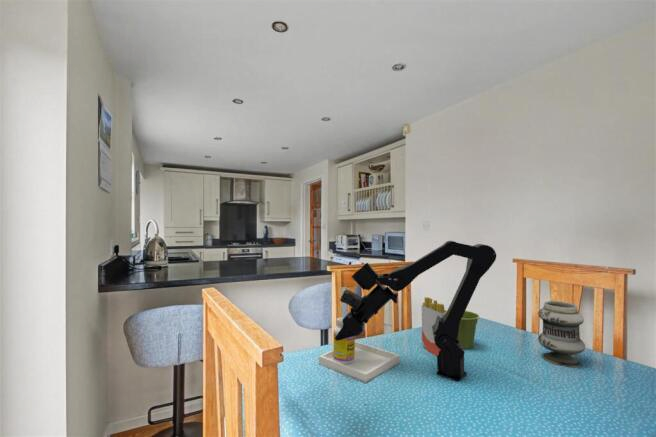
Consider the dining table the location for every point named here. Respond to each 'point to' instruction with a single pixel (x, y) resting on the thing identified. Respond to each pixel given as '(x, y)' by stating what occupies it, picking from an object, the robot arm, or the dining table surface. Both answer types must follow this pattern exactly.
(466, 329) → the plant pot
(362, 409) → the dining table surface
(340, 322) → the supplement bottle
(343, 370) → the tray
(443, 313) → the french fries container
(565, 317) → the apothecary jar
